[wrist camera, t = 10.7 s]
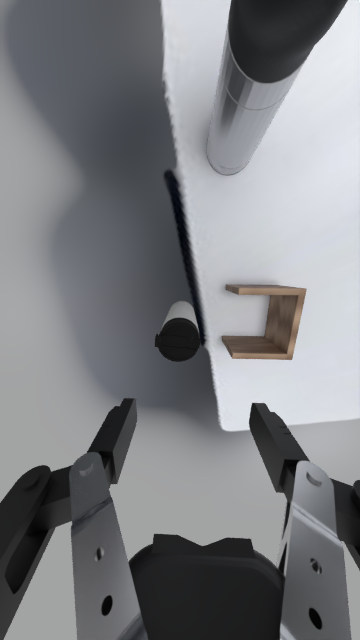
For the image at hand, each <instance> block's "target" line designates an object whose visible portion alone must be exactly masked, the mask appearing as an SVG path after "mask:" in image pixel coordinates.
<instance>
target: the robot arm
mask: <svg viewBox="0 0 360 640" xmlns="http://www.w3.org/2000/svg"><path fill="white" fill-rule="evenodd" d="M347 1H348V0H231V6H230V12H229V18H228V24H227V30H226V36H225V42H224V47H223V54H222V60H221V66H220V72H219V78H218V83H217V89H216V95H215V101H214V107H213V113H212V119H211V124H210V130H209V136H208V142H207V156H208V159H209V162H210V164H211V166H212V167H213V168H214V169H215V170H216V171H217V172H219V173H221V174H224V175H231V174H235V173H237V172H239V171H240V170H242V169H243V168H244V167H245V166H246V165H247V163H248V162H249V160H250V158H251V156H252V155H253V153H254V151H255V149H256V148H257V146H258V144H259V142H260V141H261V139H262V137H263V135H264V134H265V132H266V130H267V128H268V127H269V125H270V123H271V121H272V119H273V118H274V116H275V114H276V112H277V111H278V109H279V107H280V105H281V103H282V102H283V100H284V98H285V96H286V95H287V93H288V91H289V89H290V87H291V86H292V84H293V82H294V80H295V78H296V77H297V75H298V73H299V71H300V69H301V68H302V66H303V64H304V62H305V61H306V59H307V57H308V55H309V54H310V52H311V50H312V49H313V47H314V45H315V44H316V43H317V42H318V41H319V40H320V39H321V38H322V37H323V36H324V35H325V34H326V32H327V31H328V30H329V28H330V27H331V26H332V24H333V23H334V21H335V20H336V18H337V17H338V15H339V14H340V12H341V10H342V9H343V7H344V6H345V4H346V2H347ZM136 410H137V409H136V399H134V398H124V399H123V401H122V403H121V405H120V406H115V407H114V408H113V409H112V410H111V411H110V412H109V413H108V415H107V417H106V419H105V421H104V422H103V424H102V427H101V428H100V430H99V431H98V433H97V435H96V437H95V439H94V441H93V442H92V444H91V446H90V448H89V450H88V451H87V453H86V454H84V455H83V456H81V457H80V458H78V459H77V460H76V462H75V463H74V464H73V465H71V466H69V467H66V468H62V469H59V470H56V471H53V472H51V470H50V468H49V467H48V466H45V465H42V466H37V467H35V468H33V469H31V470H29V471H28V472H26V473H25V474H24V475H22V476H21V477H20V478H19V479H18V480H17V482H16V483H15V484H14V486H13V487H12V488H11V490H10V491H9V492H8V494H7V495H6V496H5V497H4V499H3V500H2V501H1V503H0V640H3V639H4V637H5V635H6V633H7V630H8V628H9V626H10V624H11V622H12V620H13V618H14V616H15V613H16V611H17V609H18V607H19V604H20V603H21V600H22V598H23V596H24V594H25V592H26V590H27V588H28V586H29V583H30V581H31V579H32V577H33V575H34V573H35V570H36V568H37V566H38V564H39V562H40V560H41V558H42V555H43V553H44V551H45V549H46V547H47V545H48V543H49V541H50V538H51V536H52V534H53V532H54V530H55V527H57V526H60V525H62V524H65V523H67V522H70V521H72V526H71V542H72V558H73V559H72V560H73V577H74V593H75V611H76V628H77V640H351V631H350V618H349V608H348V596H347V584H346V573H345V561H344V551H343V545H342V542H341V541H344V542H345V544H346V546H347V548H348V550H349V552H350V554H351V555H352V557H353V559H354V561H355V563H356V564H357V566H358V568H359V570H360V480H357V481H355V483H354V485H353V486H350V485H348V484H345V483H342V482H339V481H336V480H334V479H331V478H329V477H328V475H327V474H326V473H325V472H324V471H323V470H322V469H321V468H320V467H318V466H317V465H315V464H313V463H311V462H310V461H309V459H308V458H307V456H306V455H305V453H304V452H303V450H302V449H301V447H300V446H299V444H298V443H297V441H296V440H295V438H294V437H293V435H291V432H290V431H289V429H288V428H287V426H286V425H285V423H284V422H283V420H282V419H281V418H280V417H279V416H278V415H277V414H276V413H275V412H270V410H269V409H268V407H267V406H266V404H265V403H252V406H251V413H250V419H249V426H250V430H251V433H252V435H253V438H254V440H255V443H256V445H257V447H258V450H259V452H260V455H261V457H262V459H263V462H264V464H265V467H266V469H267V471H268V474H269V476H270V478H271V481H272V483H273V486H274V488H275V491H276V492H280V493H284V494H285V496H286V498H287V502H286V507H285V514H284V521H283V528H282V535H281V542H280V548H279V553H278V557H277V562H276V566H275V565H274V564H273V563H272V562H271V561H270V560H269V559H267V558H266V557H265V556H263V555H262V554H260V553H258V552H257V551H255V550H253V546H252V542H251V539H244V538H224V539H222V540H219V541H217V542H214V543H211V544H209V545H206V546H200V545H198V544H196V543H194V542H192V541H189V540H187V539H185V538H183V537H181V536H179V535H168V534H167V535H166V534H154V538H153V544H151V545H148V546H146V547H145V548H143V549H141V550H140V551H139V552H138V553H136V554H135V555H134V556H133V557H132V558H131V559H130V561H129V562H128V559H127V555H126V551H125V547H124V543H123V540H122V535H121V531H120V527H119V524H118V520H117V515H116V511H115V507H114V504H113V500H112V498H111V495H110V491H109V488H110V485H111V484H117V482H118V479H119V476H120V473H121V470H122V467H123V464H124V461H125V458H126V455H127V452H128V448H129V445H130V442H131V439H132V436H133V433H134V430H135V427H136V422H137V411H136Z"/></svg>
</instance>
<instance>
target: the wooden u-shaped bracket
mask: <svg viewBox="0 0 360 640" xmlns="http://www.w3.org/2000/svg"><path fill="white" fill-rule="evenodd" d="M226 290H228V291H230V292H233V293H236V294H238V295H271V297H270V304H269V311H268V317H267V324H266V330H265V337H257V336H222V341H223V343H224V345H225V346H226V348H227V350H228V352H229V354H230V355H231V357H232V359H280V360H292V357H293V352H294V348H295V343H296V338H297V333H298V328H299V323H300V319H301V314H302V309H303V304H304V299H305V294H306V289H304V288H296V287H288V286H279V285H226Z"/></svg>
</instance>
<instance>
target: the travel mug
mask: <svg viewBox="0 0 360 640" xmlns="http://www.w3.org/2000/svg"><path fill="white" fill-rule="evenodd" d="M199 346H200V336H199V329H198V325H197V321H196V317H195V313H194V309H193V307H192V305H191V304H190V303H188V302H186V301H177V302H175V303H174V304H173V305H172V306H171V308H170V310H169V312H168V315H167V317H166V319H165V322H164V324H163V326H162V329H161V332H160V334H159V336H158V334H157V335H156V338H155V347H158V348H159V351H160V352H161V354H162V355H163V356H164V357H165V358H167V359H169V360H171V361H176V362H179V361H185V360H188V359H190V358H192V357H193V356H194V355H195V354H196V352H197V349H198V348H199Z"/></svg>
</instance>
